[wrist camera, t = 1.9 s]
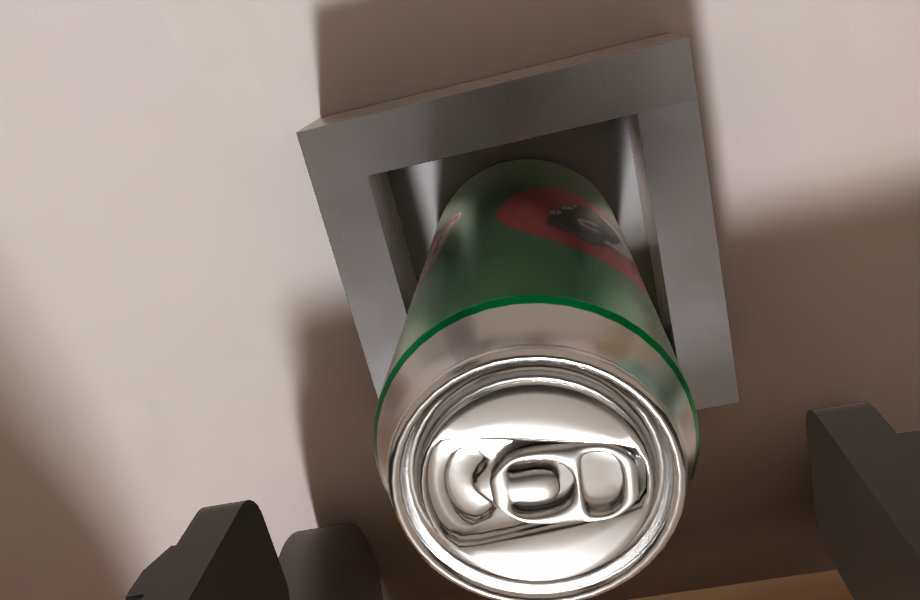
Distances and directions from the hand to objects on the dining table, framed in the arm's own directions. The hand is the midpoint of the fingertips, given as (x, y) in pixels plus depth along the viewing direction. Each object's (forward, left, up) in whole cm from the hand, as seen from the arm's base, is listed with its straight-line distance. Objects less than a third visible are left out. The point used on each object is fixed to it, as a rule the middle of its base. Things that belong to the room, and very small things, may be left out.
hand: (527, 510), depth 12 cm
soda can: (0, 0, -12) cm, 12 cm away
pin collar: (0, 0, -12) cm, 12 cm away
